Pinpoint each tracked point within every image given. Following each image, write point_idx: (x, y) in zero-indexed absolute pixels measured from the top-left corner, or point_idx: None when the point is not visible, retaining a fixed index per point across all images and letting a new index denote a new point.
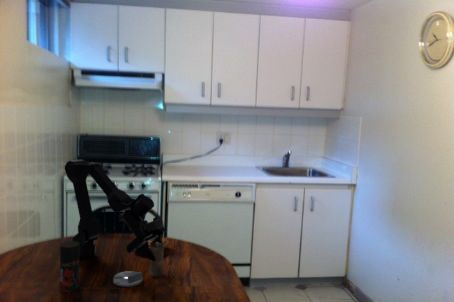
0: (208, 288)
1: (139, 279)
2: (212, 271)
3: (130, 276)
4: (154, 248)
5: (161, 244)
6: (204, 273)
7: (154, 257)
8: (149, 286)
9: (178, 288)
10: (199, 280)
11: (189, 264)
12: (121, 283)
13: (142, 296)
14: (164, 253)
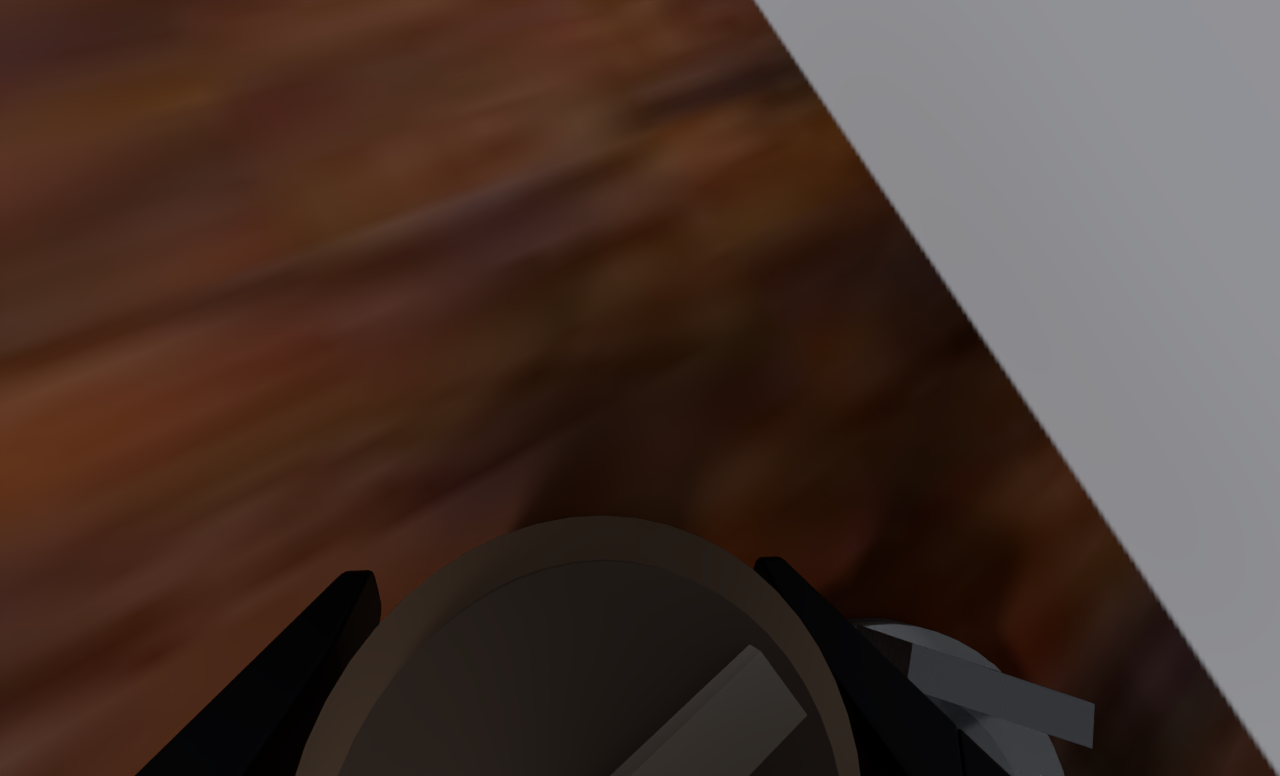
0: (601, 6)
1: (893, 635)
2: (194, 59)
3: (1082, 704)
4: (834, 723)
5: (507, 648)
6: (289, 118)
7: (793, 595)
8: (854, 483)
9: (736, 221)
10: (486, 113)
11: (57, 372)
12: (1060, 771)
13: (1025, 427)
14: (366, 593)
